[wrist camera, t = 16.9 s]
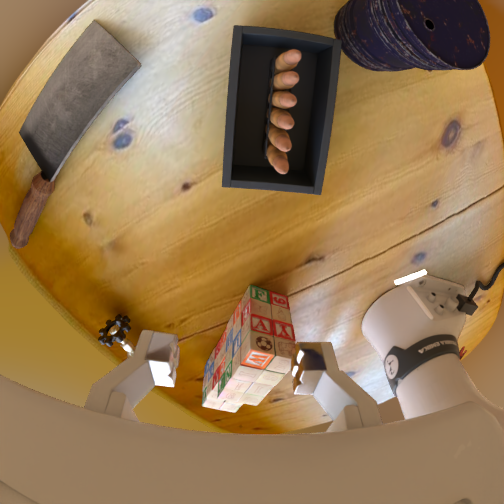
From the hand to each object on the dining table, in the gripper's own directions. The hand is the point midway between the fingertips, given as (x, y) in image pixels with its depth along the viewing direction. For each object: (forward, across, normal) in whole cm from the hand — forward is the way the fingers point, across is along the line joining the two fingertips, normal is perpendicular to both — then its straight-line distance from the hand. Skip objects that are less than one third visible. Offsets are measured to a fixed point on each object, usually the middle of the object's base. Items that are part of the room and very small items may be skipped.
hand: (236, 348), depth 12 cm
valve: (+25, -17, -29) cm, 42 cm away
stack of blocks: (+25, +2, -26) cm, 36 cm away
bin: (+24, +3, +9) cm, 26 cm away
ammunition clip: (+24, +2, +9) cm, 26 cm away
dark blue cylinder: (+25, +13, +20) cm, 35 cm away
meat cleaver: (+24, -27, +5) cm, 37 cm away
